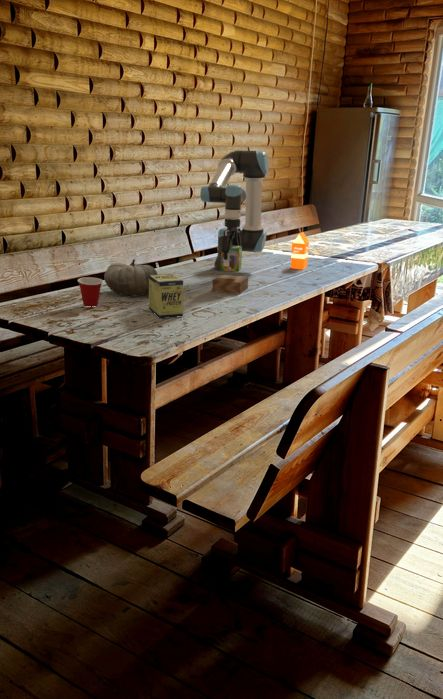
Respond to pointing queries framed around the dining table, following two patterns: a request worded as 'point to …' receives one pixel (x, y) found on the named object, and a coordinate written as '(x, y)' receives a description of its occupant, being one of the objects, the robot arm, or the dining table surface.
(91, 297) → the plastic cup
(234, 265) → the chalk box
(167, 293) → the protein box
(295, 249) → the orange juice
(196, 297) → the dining table surface
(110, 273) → the gourd
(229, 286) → the walnut block
